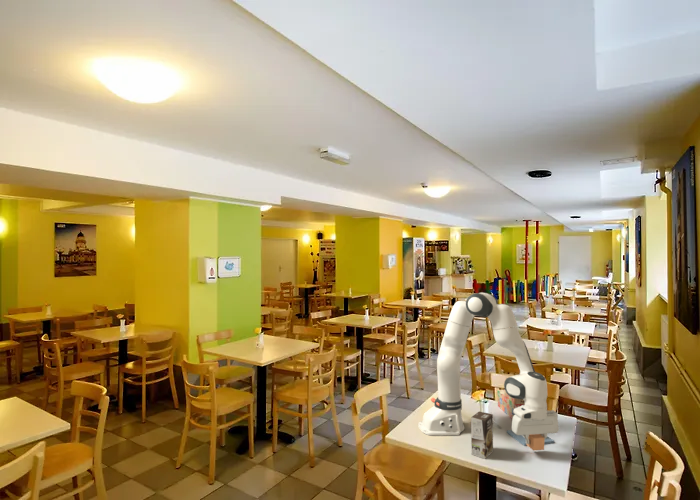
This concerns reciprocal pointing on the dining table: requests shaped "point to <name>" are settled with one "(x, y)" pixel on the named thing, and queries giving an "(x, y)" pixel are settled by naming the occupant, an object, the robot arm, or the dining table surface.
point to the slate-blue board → (523, 440)
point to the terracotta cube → (536, 442)
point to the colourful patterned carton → (508, 403)
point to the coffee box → (482, 434)
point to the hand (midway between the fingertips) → (535, 443)
